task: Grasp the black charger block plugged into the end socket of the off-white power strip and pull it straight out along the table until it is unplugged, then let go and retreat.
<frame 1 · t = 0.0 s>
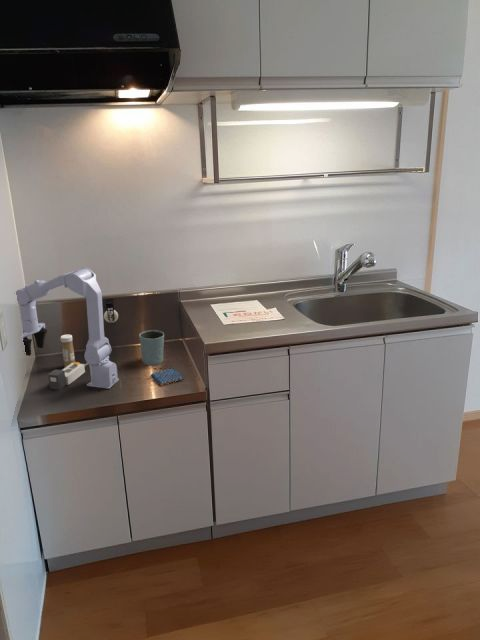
hand: (34, 351, 200), 10 cm above the countertop, fingers open, 7 cm apart
teal cup: (153, 361, 216), on the countertop
woven mat: (167, 380, 200), on the countertop
sprinkles bottle: (70, 367, 211), on the countertop
charger: (58, 378, 194), point 3 cm above the countertop, slide at 0.0 cm
power strip: (70, 377, 201), on the countertop
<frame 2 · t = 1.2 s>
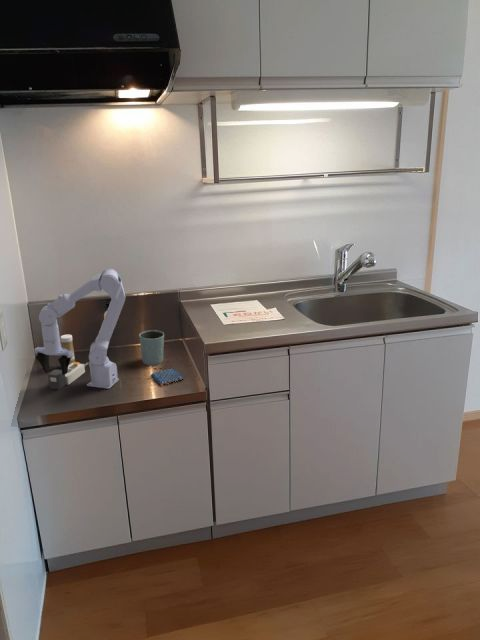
hand: (56, 372, 192), 6 cm above the countertop, fingers open, 7 cm apart
nothing on the countertop moved.
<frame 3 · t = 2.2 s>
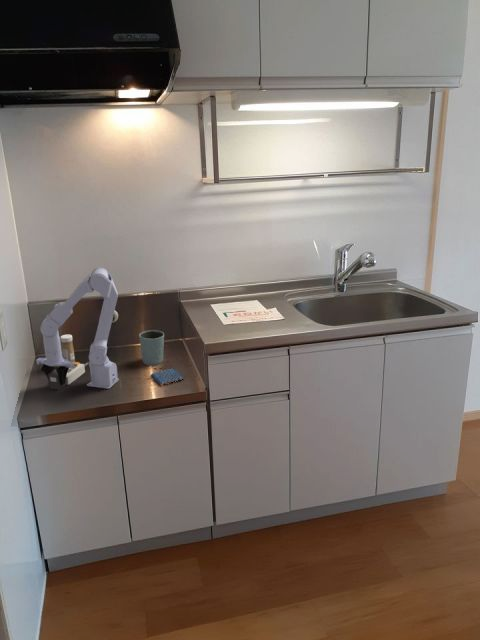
hand: (57, 383, 193), 2 cm above the countertop, fingers closed on charger, 4 cm apart
charger: (58, 378, 194), point 3 cm above the countertop, slide at 0.0 cm, touching gripper
everything else where it was.
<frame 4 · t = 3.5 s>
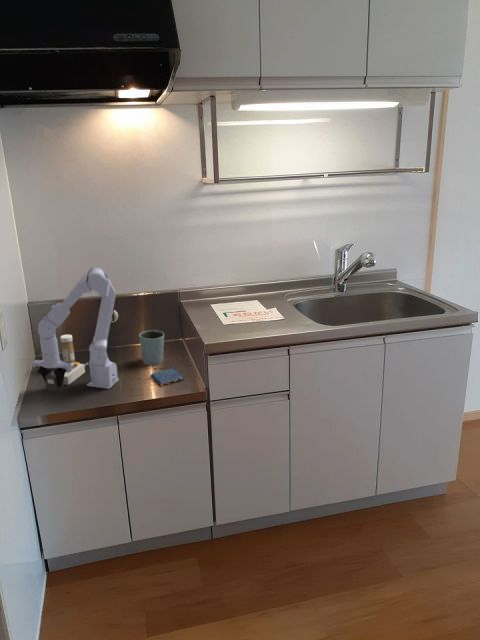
hand: (54, 385, 192), 2 cm above the countertop, fingers closed on charger, 4 cm apart
charger: (56, 380, 192), point 3 cm above the countertop, slide at 1.7 cm, touching gripper
everything else where it was.
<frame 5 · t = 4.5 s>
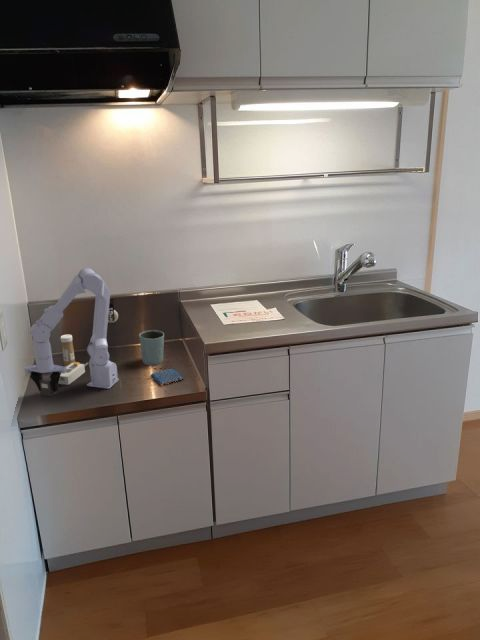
hand: (48, 390, 188), 2 cm above the countertop, fingers closed on charger, 5 cm apart
charger: (50, 384, 189), point 3 cm above the countertop, slide at 5.3 cm, touching gripper
everything else where it was.
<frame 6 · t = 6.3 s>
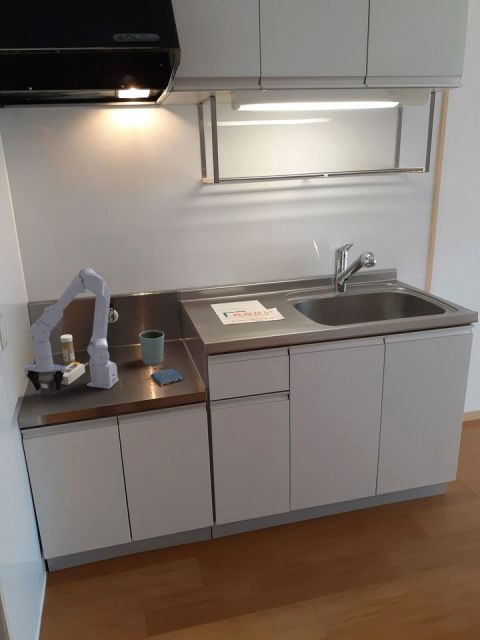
hand: (48, 389, 188), 2 cm above the countertop, fingers open, 7 cm apart
charger: (50, 384, 189), point 3 cm above the countertop, slide at 5.3 cm
everything else where it was.
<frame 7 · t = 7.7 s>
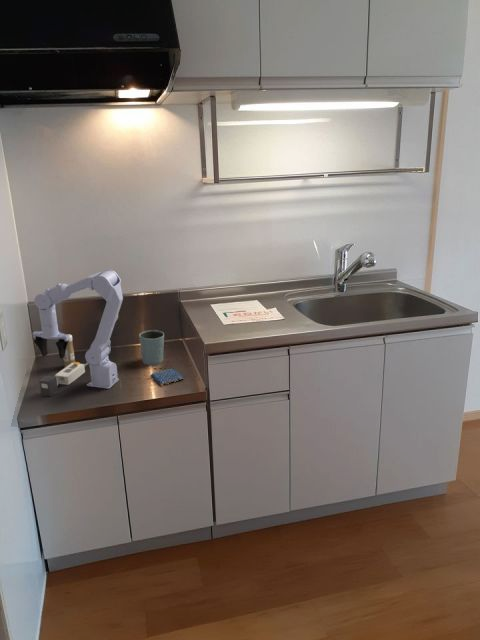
hand: (53, 356, 196), 10 cm above the countertop, fingers open, 7 cm apart
nothing on the countertop moved.
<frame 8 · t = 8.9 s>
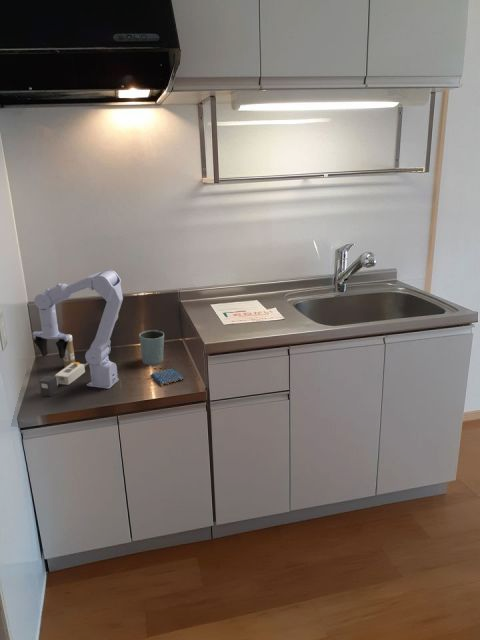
hand: (53, 356, 196), 10 cm above the countertop, fingers open, 7 cm apart
nothing on the countertop moved.
at the end: charger slide at 5.3 cm; the gripper is holding nothing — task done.
